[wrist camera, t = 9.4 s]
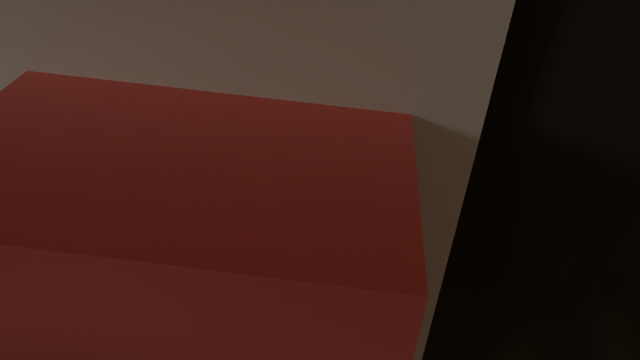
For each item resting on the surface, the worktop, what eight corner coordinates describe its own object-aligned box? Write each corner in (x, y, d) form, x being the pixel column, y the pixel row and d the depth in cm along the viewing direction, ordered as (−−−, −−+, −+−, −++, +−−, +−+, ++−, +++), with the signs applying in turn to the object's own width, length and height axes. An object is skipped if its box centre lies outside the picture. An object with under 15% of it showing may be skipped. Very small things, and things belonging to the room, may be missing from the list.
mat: (-30, -85, 9) (-64, -75, 8) (508, -26, 9) (518, -11, 8) (66, 365, 14) (50, 393, 14) (400, 409, 14) (400, 439, 13)
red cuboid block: (78, 338, 13) (-33, 535, 9) (27, 70, 9) (-173, 223, 6) (364, 375, 12) (356, 589, 9) (411, 114, 9) (427, 296, 6)
